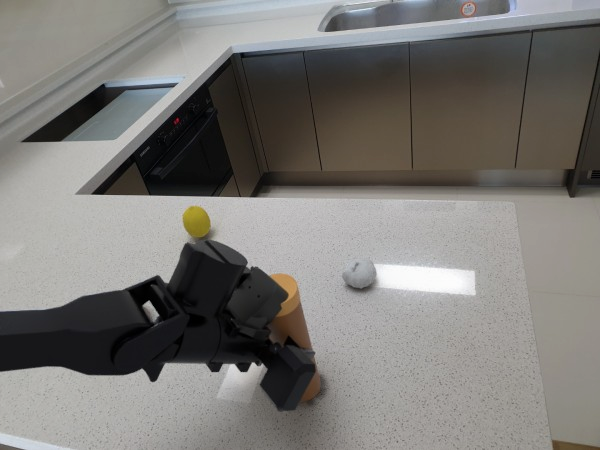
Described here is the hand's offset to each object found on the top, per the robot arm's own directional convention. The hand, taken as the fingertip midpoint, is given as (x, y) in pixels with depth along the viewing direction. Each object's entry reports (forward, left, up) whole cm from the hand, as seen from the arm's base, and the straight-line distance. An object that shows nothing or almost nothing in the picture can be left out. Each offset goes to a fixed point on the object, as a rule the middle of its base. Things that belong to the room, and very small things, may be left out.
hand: (301, 343), depth 61 cm
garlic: (+19, +8, -9) cm, 22 cm away
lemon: (+8, +44, -9) cm, 45 cm away
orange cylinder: (-1, 0, -9) cm, 9 cm away
